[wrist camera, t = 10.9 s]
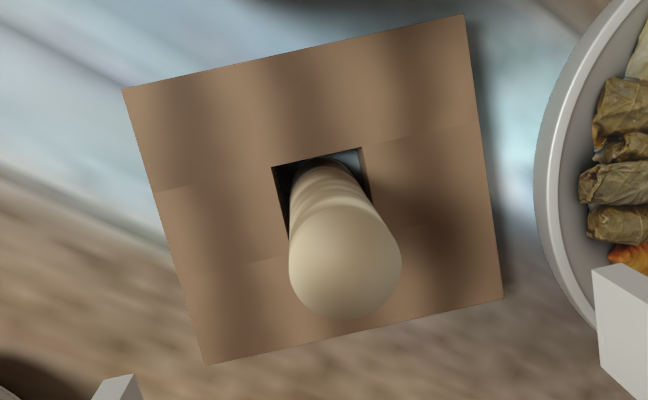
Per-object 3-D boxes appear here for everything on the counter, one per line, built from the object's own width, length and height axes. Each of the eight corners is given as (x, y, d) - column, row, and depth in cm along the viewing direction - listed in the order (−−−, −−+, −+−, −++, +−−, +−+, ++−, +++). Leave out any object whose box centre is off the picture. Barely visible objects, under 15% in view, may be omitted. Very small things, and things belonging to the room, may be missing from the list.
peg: (348, 150, 34) (391, 199, 19) (361, 213, 35) (411, 307, 20) (283, 164, 33) (275, 225, 19) (298, 227, 34) (301, 332, 20)
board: (445, 21, 32) (463, 13, 29) (484, 278, 36) (504, 298, 33) (139, 88, 32) (121, 89, 28) (213, 339, 36) (205, 366, 33)
